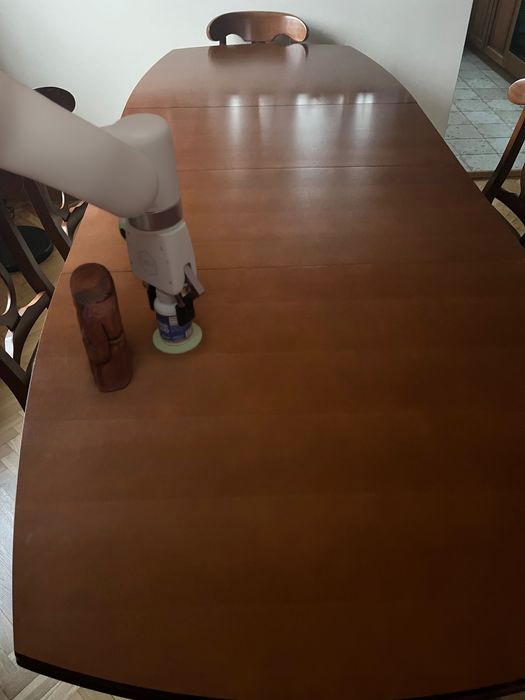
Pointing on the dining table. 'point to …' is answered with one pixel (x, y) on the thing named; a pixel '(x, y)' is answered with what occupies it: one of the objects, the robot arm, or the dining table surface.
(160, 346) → the coaster
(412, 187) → the dining table surface
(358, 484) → the dining table surface
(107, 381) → the wooden figurine
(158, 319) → the pill bottle
